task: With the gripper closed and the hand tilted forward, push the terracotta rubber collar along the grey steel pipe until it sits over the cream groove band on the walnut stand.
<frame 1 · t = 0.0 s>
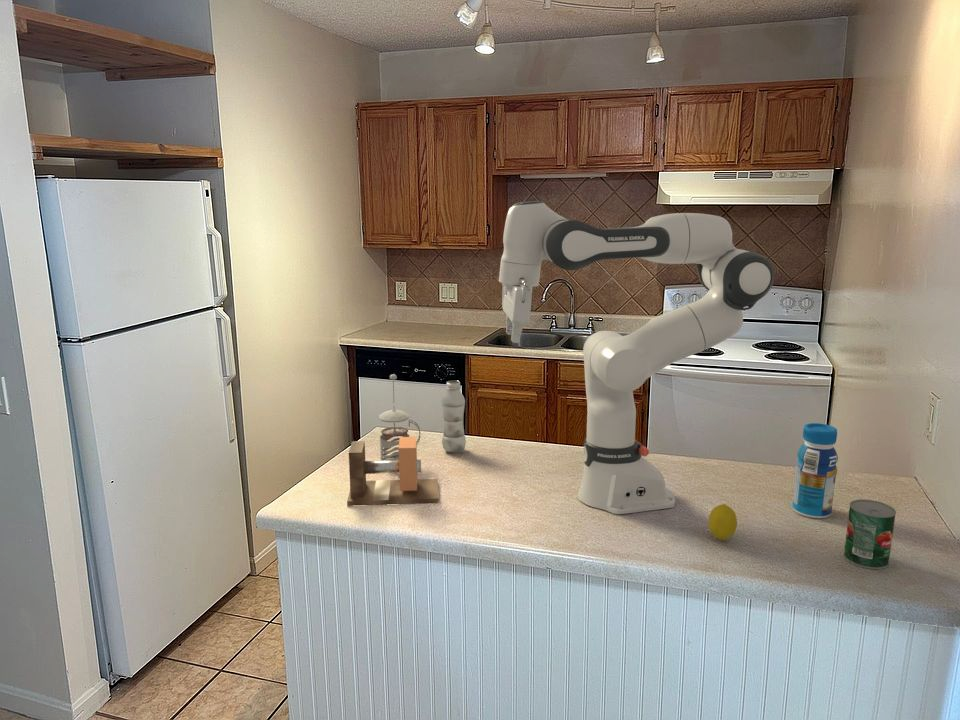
hand: (512, 338, 159), 39 cm above the counter, tool pointing down, fingers open, 8 cm apart
canned tomato: (865, 560, 140), on the counter
collar: (408, 463, 169), point 8 cm above the counter, slide at 0.0 cm
plastic bottle: (453, 451, 200), on the counter
lemon: (721, 541, 148), on the counter
steel pipe: (390, 494, 171), resting on pipe stand
beverage bottle: (811, 512, 161), on the counter
french press: (399, 466, 189), on the counter
pipe stand: (394, 494, 171), on the counter
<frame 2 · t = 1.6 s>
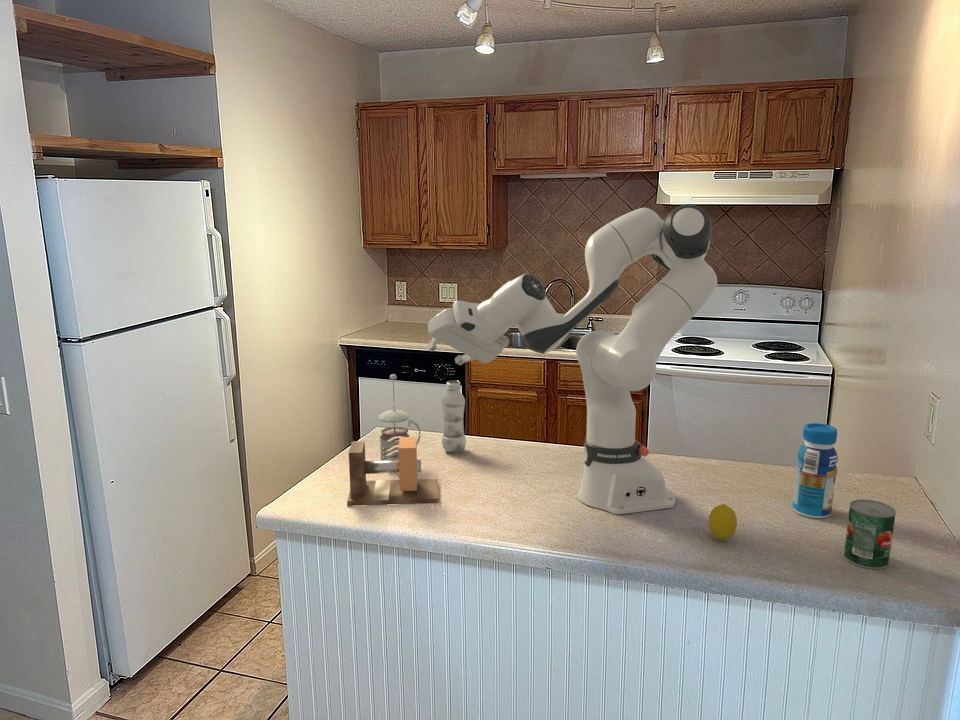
hand: (443, 355, 172), 32 cm above the counter, tool tilted 55°, fingers open, 8 cm apart
nothing on the counter moved.
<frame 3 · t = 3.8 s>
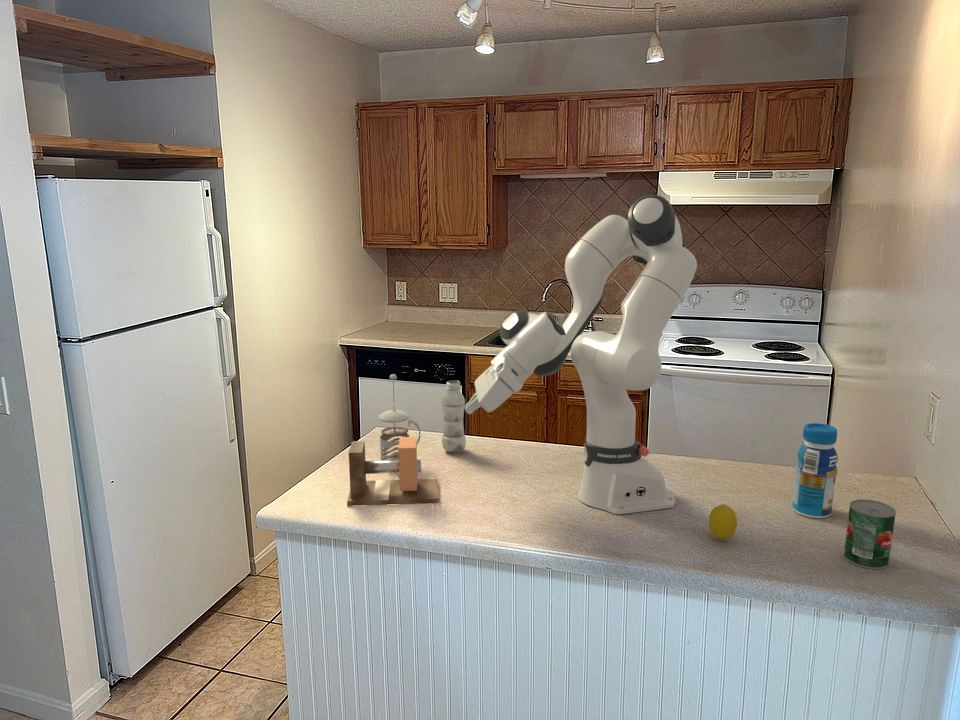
hand: (466, 410, 168), 20 cm above the counter, tool tilted 45°, fingers closed
nothing on the counter moved.
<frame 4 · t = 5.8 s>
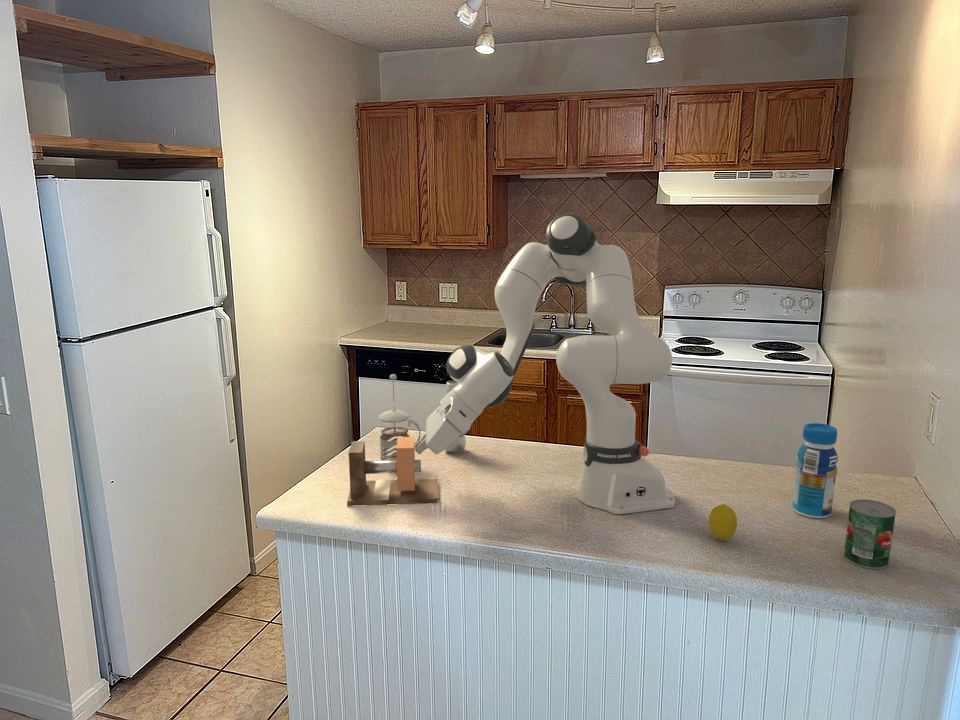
hand: (416, 450, 169), 11 cm above the counter, tool tilted 45°, fingers closed, pressing on collar
collar: (406, 463, 169), point 8 cm above the counter, slide at 0.5 cm, touching gripper
everything else where it was.
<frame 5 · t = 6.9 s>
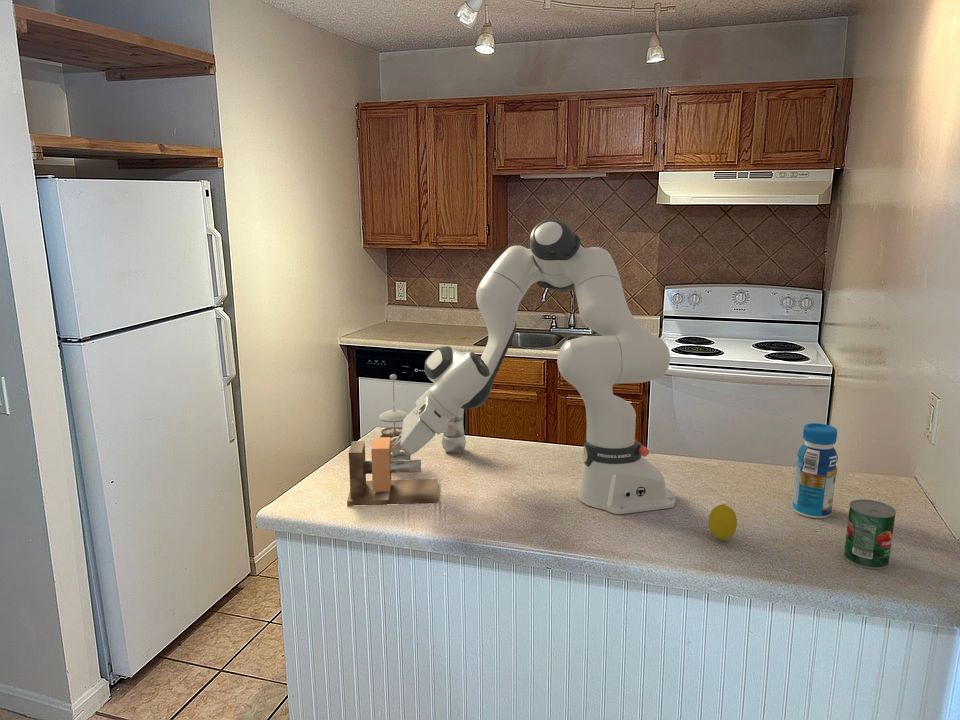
hand: (392, 450, 169), 11 cm above the counter, tool tilted 45°, fingers closed, pressing on collar
collar: (381, 464, 169), point 8 cm above the counter, slide at 6.2 cm, touching gripper
everything else where it was.
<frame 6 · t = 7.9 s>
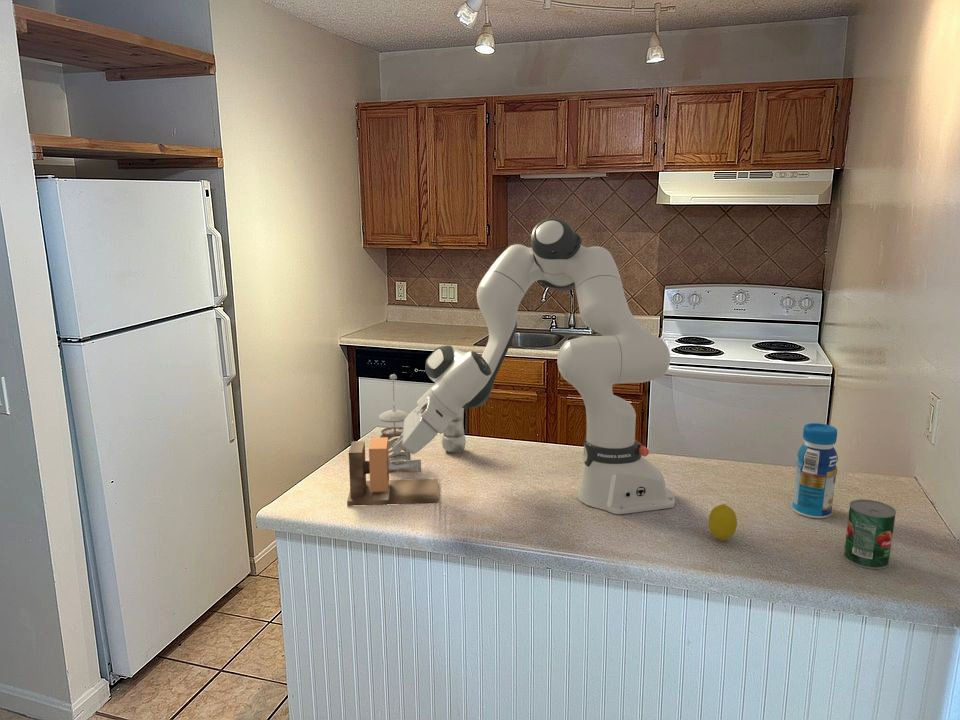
hand: (394, 450, 168), 11 cm above the counter, tool tilted 45°, fingers closed
collar: (379, 464, 169), point 8 cm above the counter, slide at 6.8 cm
everything else where it was.
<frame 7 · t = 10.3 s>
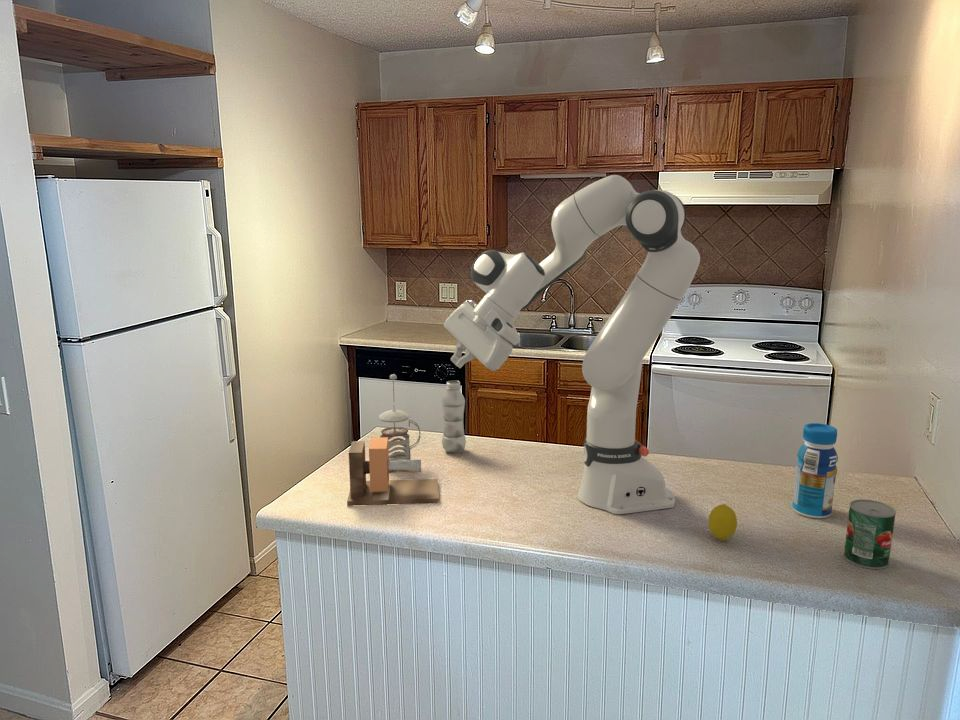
hand: (455, 364, 164), 32 cm above the counter, tool tilted 40°, fingers closed
nothing on the counter moved.
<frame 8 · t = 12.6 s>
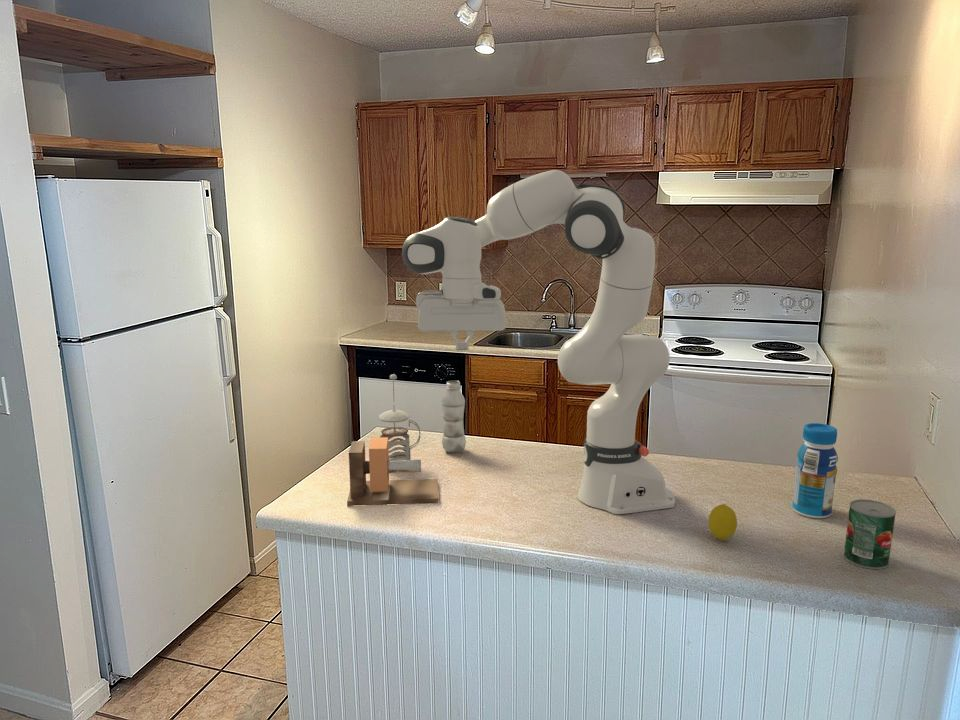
hand: (462, 349, 164), 35 cm above the counter, tool pointing down, fingers closed
nothing on the counter moved.
at the end: collar slide at 6.8 cm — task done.
